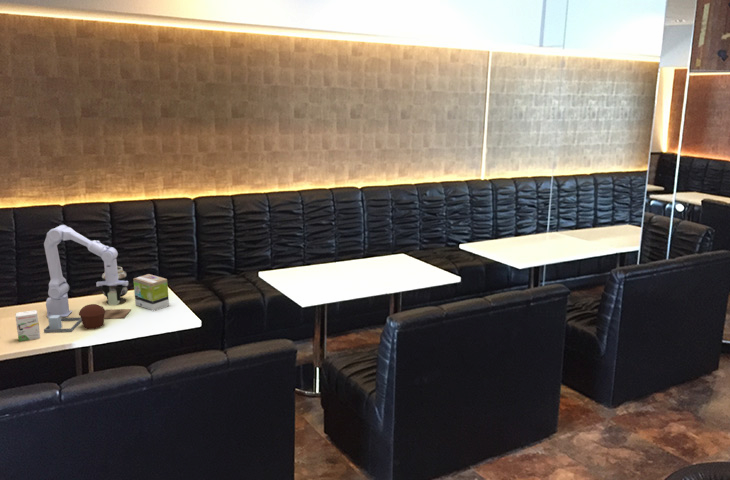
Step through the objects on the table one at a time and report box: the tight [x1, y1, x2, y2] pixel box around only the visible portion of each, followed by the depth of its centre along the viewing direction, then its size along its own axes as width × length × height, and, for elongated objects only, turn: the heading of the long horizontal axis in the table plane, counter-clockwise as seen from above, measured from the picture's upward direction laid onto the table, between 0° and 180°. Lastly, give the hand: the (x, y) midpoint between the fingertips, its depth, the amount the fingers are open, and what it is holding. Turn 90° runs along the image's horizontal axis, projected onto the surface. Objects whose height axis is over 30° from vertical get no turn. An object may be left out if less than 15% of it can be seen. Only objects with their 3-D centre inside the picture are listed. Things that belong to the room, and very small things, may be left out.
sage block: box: [108, 291, 120, 306], centre depth 310 cm, size 4×4×6 cm
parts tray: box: [43, 316, 82, 334], centre depth 296 cm, size 12×15×2 cm
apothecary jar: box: [101, 265, 129, 305], centre depth 329 cm, size 12×12×18 cm
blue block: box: [47, 315, 63, 329], centre depth 292 cm, size 4×4×6 cm
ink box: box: [15, 309, 41, 342], centre depth 281 cm, size 8×5×12 cm, turn 119°
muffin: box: [78, 303, 106, 330], centre depth 296 cm, size 12×11×10 cm
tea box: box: [132, 273, 170, 312], centre depth 323 cm, size 15×10×15 cm, turn 55°
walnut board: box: [104, 308, 132, 320], centre depth 312 cm, size 12×12×1 cm
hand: (113, 299), depth 310 cm, fingers closed on sage block, 4 cm apart
